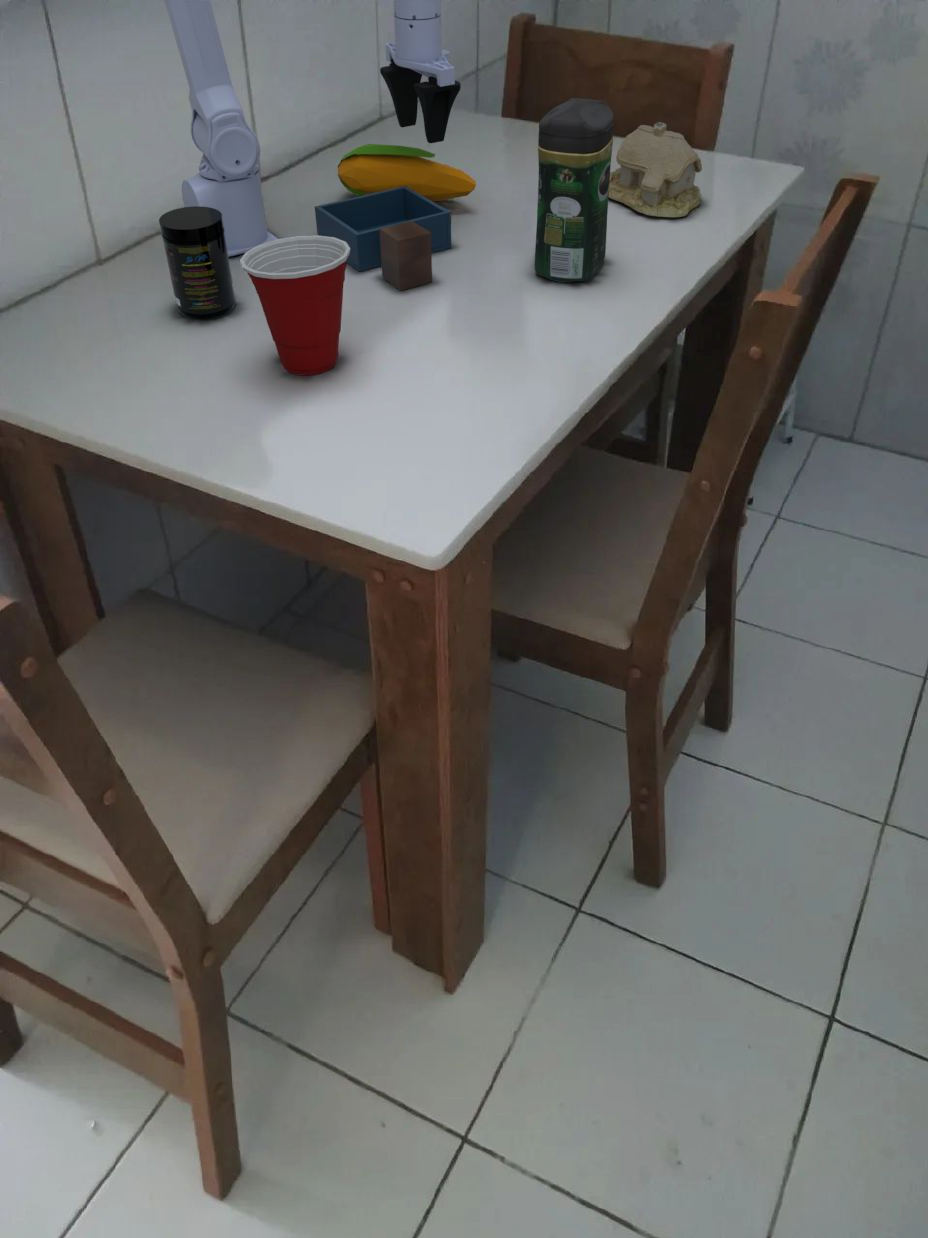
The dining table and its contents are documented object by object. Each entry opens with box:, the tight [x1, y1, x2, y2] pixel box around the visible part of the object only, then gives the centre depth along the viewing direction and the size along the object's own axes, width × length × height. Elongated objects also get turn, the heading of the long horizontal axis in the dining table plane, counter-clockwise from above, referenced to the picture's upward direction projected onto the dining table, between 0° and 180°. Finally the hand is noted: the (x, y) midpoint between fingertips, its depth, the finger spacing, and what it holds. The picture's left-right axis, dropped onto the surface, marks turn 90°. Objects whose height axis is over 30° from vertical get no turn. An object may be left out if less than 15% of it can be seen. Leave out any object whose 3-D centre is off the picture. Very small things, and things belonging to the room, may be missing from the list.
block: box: [379, 221, 433, 292], centre depth 125 cm, size 4×4×6 cm
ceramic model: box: [608, 121, 703, 218], centre depth 142 cm, size 14×11×10 cm
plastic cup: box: [239, 234, 350, 376], centre depth 107 cm, size 11×11×12 cm
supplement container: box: [158, 206, 236, 321], centre depth 118 cm, size 7×7×10 cm
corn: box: [337, 143, 477, 202], centre depth 143 cm, size 7×8×20 cm
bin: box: [314, 186, 452, 272], centre depth 133 cm, size 13×11×4 cm
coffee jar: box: [534, 97, 615, 283], centre depth 123 cm, size 10×8×19 cm
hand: (421, 133), depth 137 cm, fingers open, 7 cm apart
